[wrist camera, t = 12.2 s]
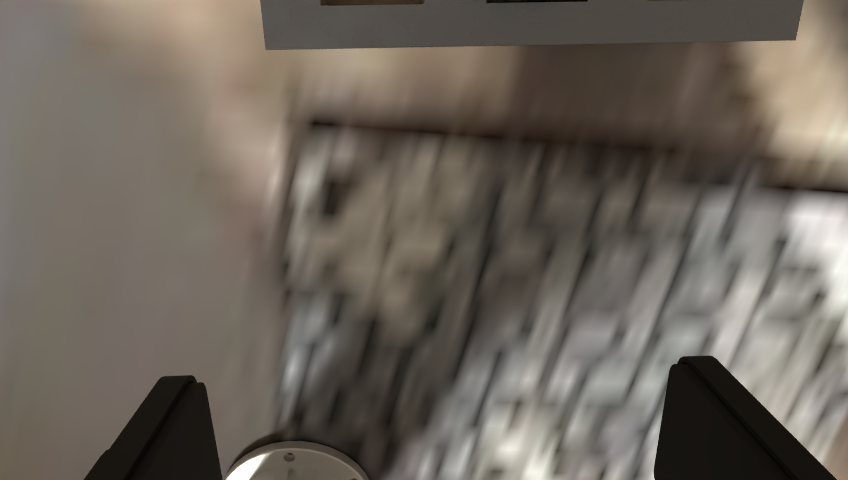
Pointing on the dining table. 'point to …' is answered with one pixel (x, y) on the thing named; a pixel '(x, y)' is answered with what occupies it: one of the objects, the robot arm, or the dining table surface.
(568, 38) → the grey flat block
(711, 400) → the robot arm
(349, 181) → the dining table surface
